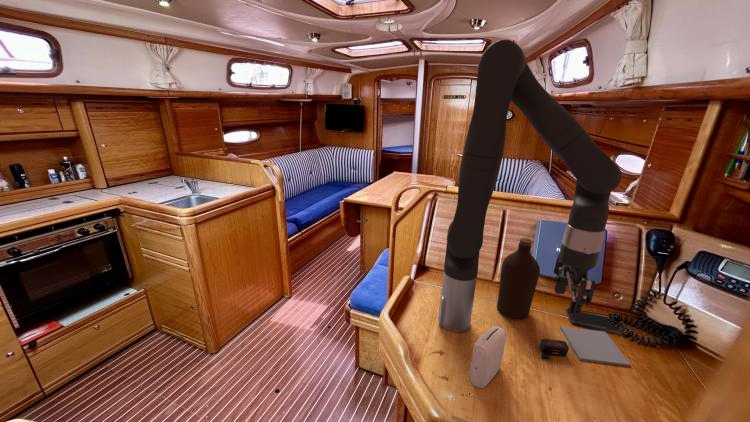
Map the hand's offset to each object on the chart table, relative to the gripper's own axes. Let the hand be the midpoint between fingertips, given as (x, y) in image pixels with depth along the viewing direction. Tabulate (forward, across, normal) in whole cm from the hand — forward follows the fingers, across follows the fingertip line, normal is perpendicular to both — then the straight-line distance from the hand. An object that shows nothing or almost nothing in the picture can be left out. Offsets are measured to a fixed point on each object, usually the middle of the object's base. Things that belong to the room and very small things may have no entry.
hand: (566, 303), depth 75 cm
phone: (+17, -16, +18) cm, 29 cm away
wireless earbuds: (+16, 0, -1) cm, 16 cm away
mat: (+16, -5, +12) cm, 20 cm away
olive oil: (+16, -17, -6) cm, 24 cm away
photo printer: (+16, +10, -19) cm, 27 cm away
